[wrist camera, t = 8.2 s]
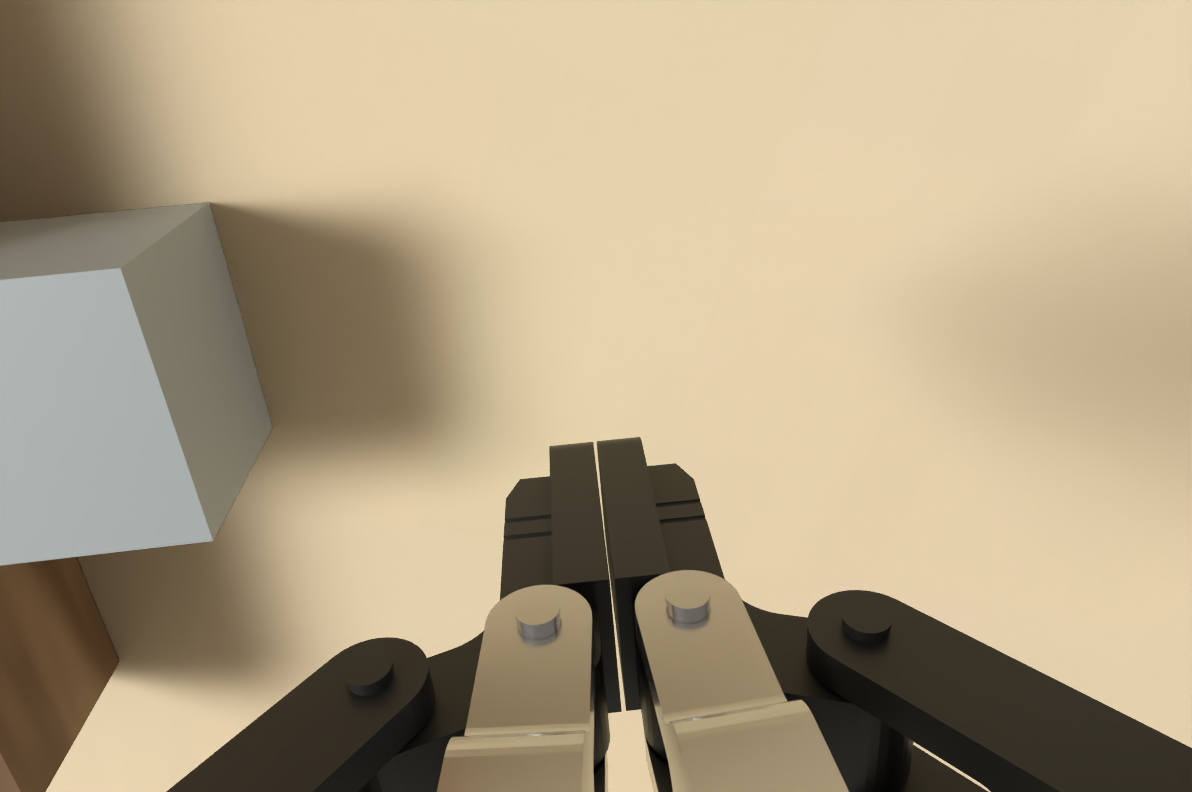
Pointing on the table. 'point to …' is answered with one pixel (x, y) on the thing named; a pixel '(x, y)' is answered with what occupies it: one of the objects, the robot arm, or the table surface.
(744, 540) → the table surface
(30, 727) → the board
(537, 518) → the robot arm
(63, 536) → the block
